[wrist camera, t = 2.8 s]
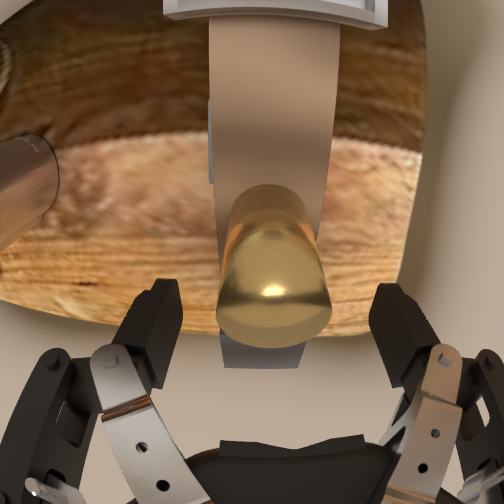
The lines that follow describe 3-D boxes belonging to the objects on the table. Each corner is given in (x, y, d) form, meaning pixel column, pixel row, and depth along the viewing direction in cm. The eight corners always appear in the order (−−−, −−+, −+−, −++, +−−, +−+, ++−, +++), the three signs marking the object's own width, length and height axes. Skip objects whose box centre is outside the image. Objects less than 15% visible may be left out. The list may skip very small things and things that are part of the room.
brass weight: (302, 249, 17) (319, 347, 12) (231, 248, 17) (220, 346, 12) (311, 185, 14) (344, 277, 9) (228, 183, 14) (210, 275, 9)
